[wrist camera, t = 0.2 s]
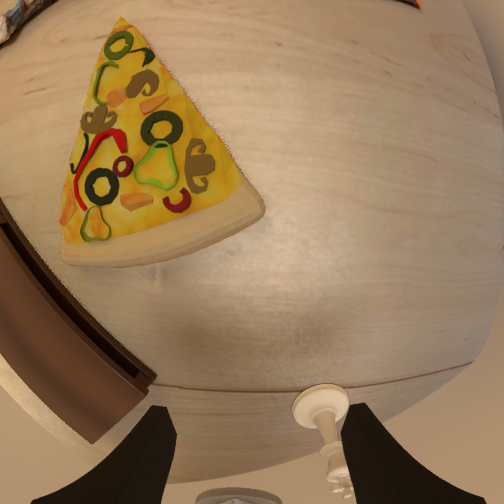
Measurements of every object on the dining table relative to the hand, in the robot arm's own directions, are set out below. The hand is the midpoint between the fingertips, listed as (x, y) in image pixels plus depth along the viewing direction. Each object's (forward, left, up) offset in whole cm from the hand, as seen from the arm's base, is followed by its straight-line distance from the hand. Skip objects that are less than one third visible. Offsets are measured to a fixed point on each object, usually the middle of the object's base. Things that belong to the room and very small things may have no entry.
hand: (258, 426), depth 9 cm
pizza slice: (+5, +16, -10) cm, 20 cm away
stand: (-15, +22, -10) cm, 29 cm away
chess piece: (-2, -10, -10) cm, 14 cm away
